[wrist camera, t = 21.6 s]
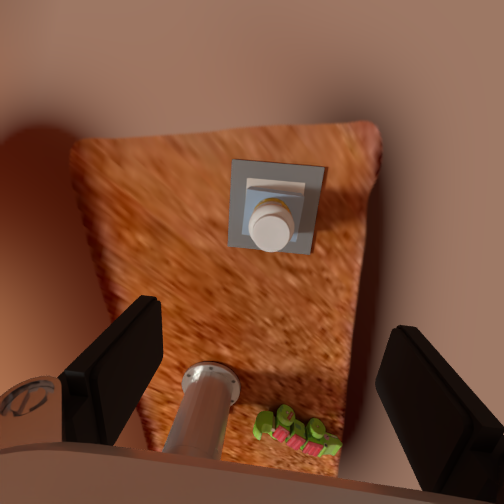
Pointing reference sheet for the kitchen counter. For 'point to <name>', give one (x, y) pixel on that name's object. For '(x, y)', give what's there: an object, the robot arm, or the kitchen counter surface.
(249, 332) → the kitchen counter surface
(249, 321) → the kitchen counter surface
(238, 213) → the base plate
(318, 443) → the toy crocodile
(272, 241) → the supplement bottle
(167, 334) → the kitchen counter surface
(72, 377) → the robot arm
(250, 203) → the light blue block
